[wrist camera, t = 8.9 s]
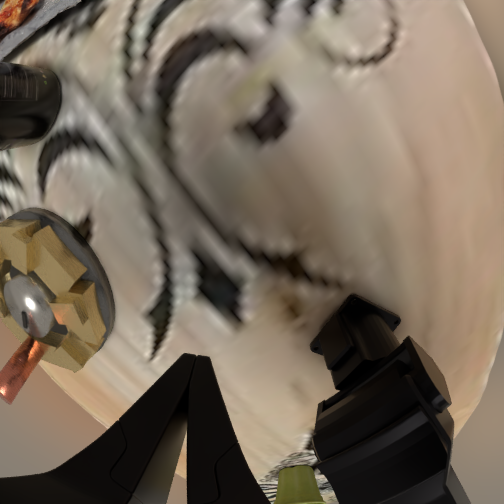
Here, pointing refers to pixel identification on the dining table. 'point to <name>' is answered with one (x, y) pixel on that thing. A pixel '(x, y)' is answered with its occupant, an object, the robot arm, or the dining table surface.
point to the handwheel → (63, 305)
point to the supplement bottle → (26, 104)
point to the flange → (37, 292)
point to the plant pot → (298, 486)
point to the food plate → (25, 20)
